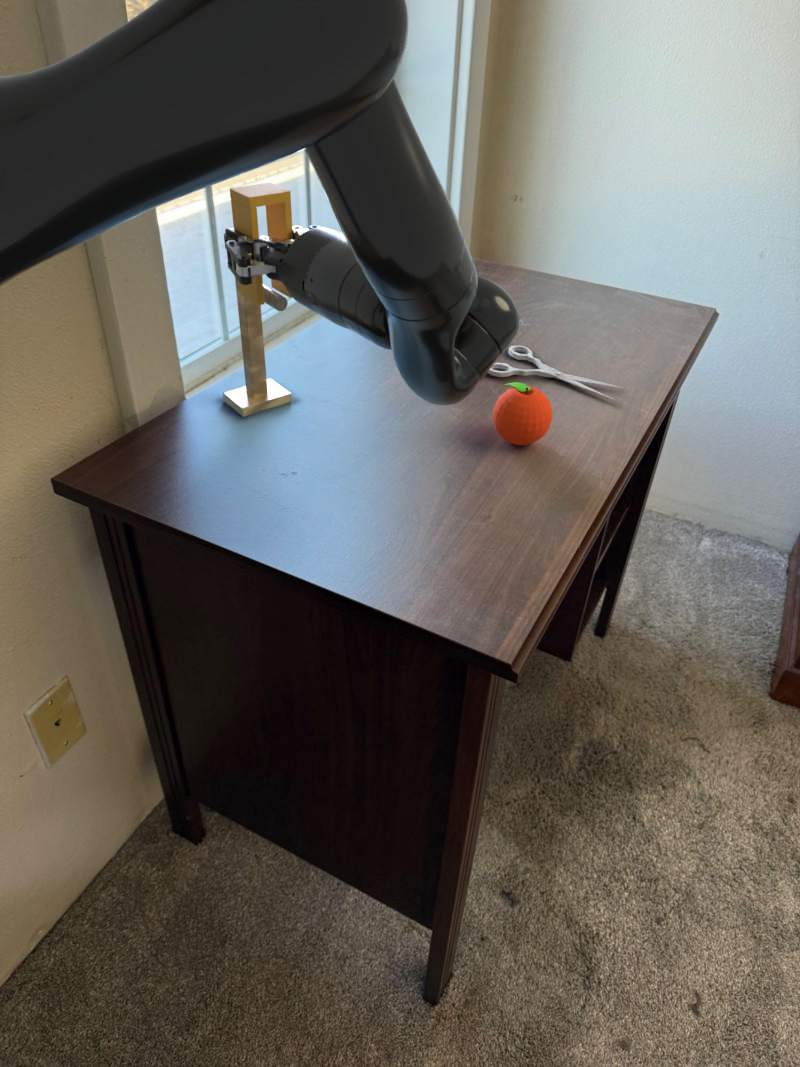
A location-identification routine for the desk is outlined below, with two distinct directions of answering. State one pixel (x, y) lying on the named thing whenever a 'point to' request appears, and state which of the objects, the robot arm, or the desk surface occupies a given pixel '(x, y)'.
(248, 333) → the rack
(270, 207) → the yellow goalpost frame
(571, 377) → the scissors
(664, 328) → the desk surface
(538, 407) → the clementine
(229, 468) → the desk surface
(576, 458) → the desk surface
